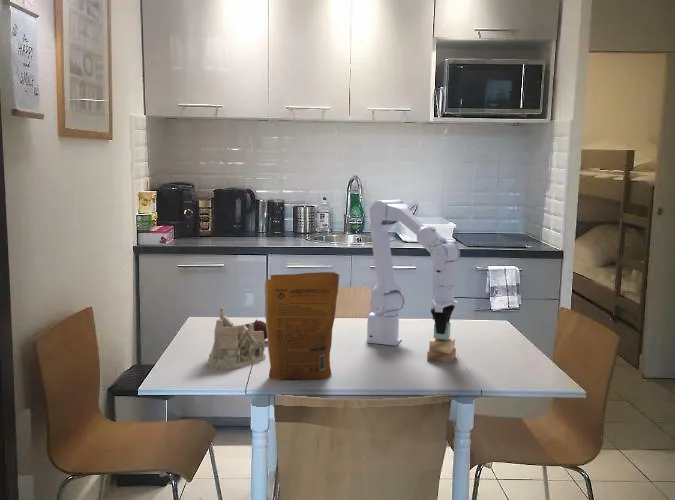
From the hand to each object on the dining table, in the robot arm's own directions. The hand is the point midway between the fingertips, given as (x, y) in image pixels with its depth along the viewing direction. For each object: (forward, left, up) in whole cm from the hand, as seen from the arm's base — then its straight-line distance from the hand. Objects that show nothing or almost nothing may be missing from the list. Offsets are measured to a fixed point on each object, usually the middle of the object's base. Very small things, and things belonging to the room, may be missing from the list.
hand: (442, 331), depth 196 cm
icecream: (-56, -4, -8) cm, 57 cm away
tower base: (0, 0, -8) cm, 8 cm away
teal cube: (0, 0, -2) cm, 2 cm away
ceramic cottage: (-53, -24, -8) cm, 59 cm away
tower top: (0, 0, -5) cm, 5 cm away
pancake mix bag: (-31, -31, -8) cm, 45 cm away
